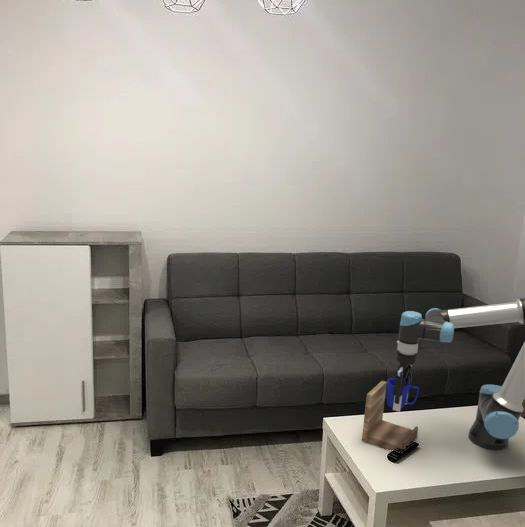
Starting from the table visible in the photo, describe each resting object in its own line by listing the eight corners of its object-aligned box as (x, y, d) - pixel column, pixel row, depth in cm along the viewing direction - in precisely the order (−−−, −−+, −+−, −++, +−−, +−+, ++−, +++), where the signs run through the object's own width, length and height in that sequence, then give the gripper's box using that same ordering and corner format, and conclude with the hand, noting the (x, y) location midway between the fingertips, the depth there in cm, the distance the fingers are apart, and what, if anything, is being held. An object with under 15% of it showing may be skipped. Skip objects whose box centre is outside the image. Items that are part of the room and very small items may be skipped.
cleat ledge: (416, 438, 246) (418, 427, 245) (403, 455, 233) (404, 443, 231) (381, 426, 253) (382, 415, 252) (366, 442, 240) (367, 431, 239)
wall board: (381, 426, 253) (386, 382, 249) (366, 442, 240) (371, 395, 235) (376, 425, 254) (382, 380, 250) (361, 441, 241) (366, 394, 236)
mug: (416, 413, 234) (419, 389, 232) (384, 409, 236) (387, 385, 234) (416, 404, 242) (419, 381, 239) (385, 399, 244) (387, 376, 242)
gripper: (406, 342, 243) (399, 395, 249) (388, 356, 227) (381, 413, 232) (424, 346, 239) (417, 400, 245) (407, 362, 223) (400, 419, 228)
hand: (399, 406), depth 239 cm, fingers closed on mug, 7 cm apart
